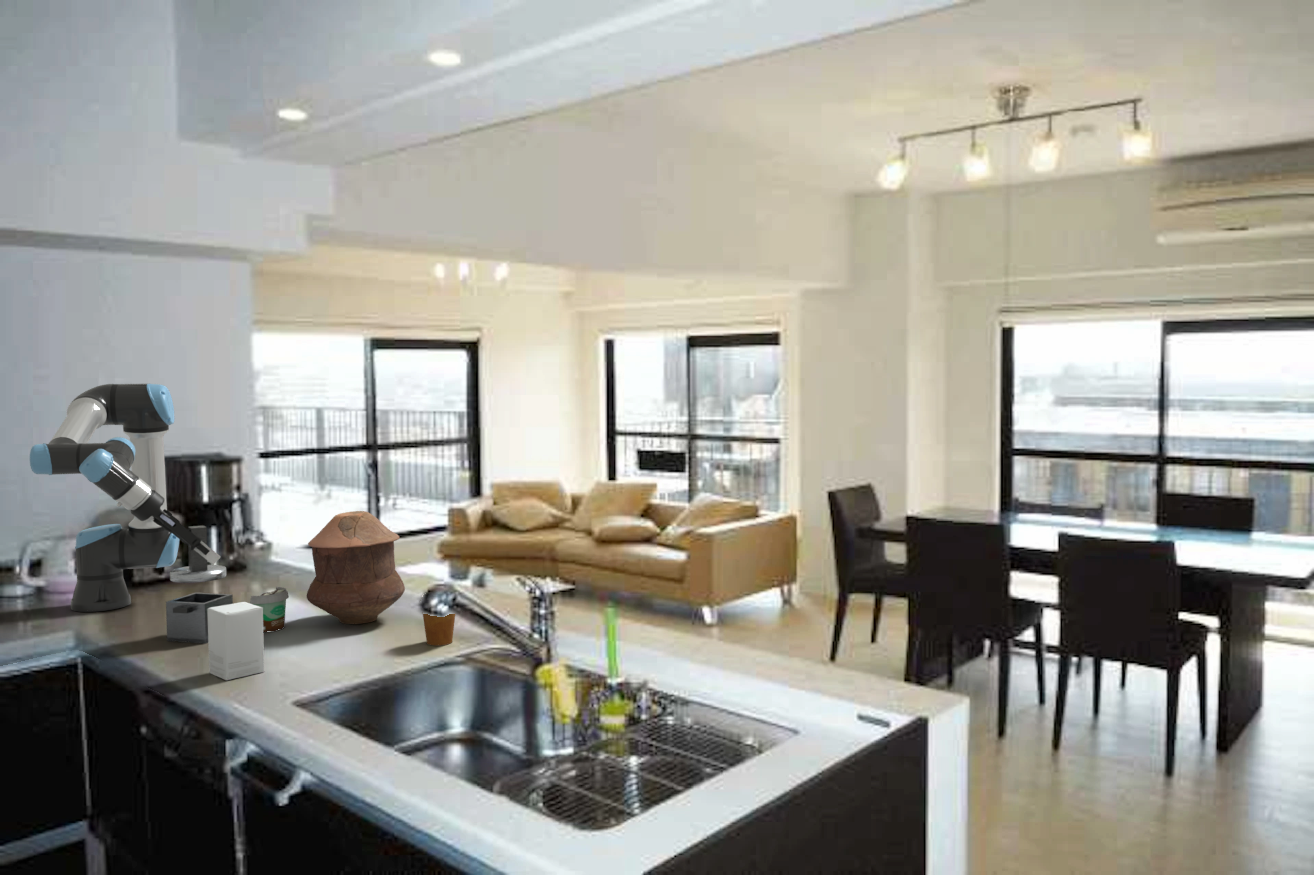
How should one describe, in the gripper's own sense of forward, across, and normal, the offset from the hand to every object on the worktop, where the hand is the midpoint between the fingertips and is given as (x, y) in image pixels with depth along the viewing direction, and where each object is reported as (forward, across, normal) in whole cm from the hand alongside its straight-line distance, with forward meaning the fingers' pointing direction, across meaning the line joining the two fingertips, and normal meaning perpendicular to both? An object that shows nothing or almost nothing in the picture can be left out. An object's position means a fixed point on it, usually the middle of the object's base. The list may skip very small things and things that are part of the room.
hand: (214, 559), depth 250 cm
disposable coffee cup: (+44, +42, +16) cm, 63 cm away
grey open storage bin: (+11, 0, -16) cm, 20 cm away
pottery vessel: (+38, +9, +10) cm, 40 cm away
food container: (+24, +4, -4) cm, 24 cm away
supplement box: (+11, +37, -18) cm, 43 cm away
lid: (0, 0, -6) cm, 6 cm away
